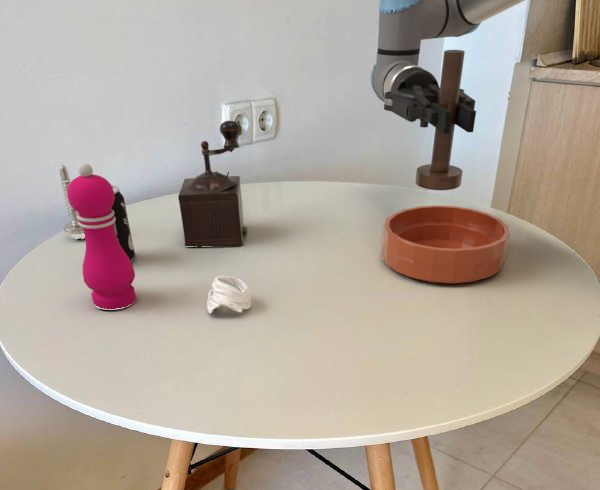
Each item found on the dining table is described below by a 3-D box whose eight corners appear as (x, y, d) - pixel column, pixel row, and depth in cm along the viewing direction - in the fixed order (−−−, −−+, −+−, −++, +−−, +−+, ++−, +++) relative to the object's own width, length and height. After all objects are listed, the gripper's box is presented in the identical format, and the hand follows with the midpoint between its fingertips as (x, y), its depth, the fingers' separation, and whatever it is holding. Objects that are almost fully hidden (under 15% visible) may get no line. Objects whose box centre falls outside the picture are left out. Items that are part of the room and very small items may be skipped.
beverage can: (123, 250, 104) (109, 181, 97) (143, 261, 101) (129, 189, 93) (89, 261, 101) (71, 190, 94) (107, 272, 97) (91, 199, 90)
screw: (73, 244, 107) (61, 237, 110) (97, 237, 110) (85, 230, 112) (54, 170, 99) (42, 164, 102) (81, 164, 102) (68, 159, 105)
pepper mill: (80, 308, 87) (42, 168, 75) (109, 287, 93) (79, 154, 81) (121, 316, 85) (89, 173, 73) (149, 295, 90) (123, 158, 78)
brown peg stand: (470, 186, 91) (491, 52, 80) (432, 193, 89) (449, 55, 78) (442, 174, 96) (459, 46, 85) (406, 180, 94) (418, 50, 83)
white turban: (206, 301, 90) (200, 271, 88) (250, 293, 91) (244, 263, 88) (209, 323, 84) (202, 291, 81) (256, 314, 84) (250, 282, 82)
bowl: (528, 272, 95) (536, 236, 91) (425, 297, 88) (430, 259, 85) (453, 231, 109) (458, 199, 105) (360, 251, 102) (362, 216, 99)
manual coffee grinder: (246, 246, 105) (238, 138, 94) (184, 248, 105) (168, 140, 94) (248, 216, 117) (241, 117, 106) (192, 217, 117) (180, 119, 106)
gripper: (452, 113, 104) (508, 147, 85) (364, 117, 102) (402, 153, 84) (459, 64, 99) (519, 90, 81) (366, 68, 98) (407, 95, 79)
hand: (459, 122), depth 82 cm, fingers closed on brown peg stand, 3 cm apart
